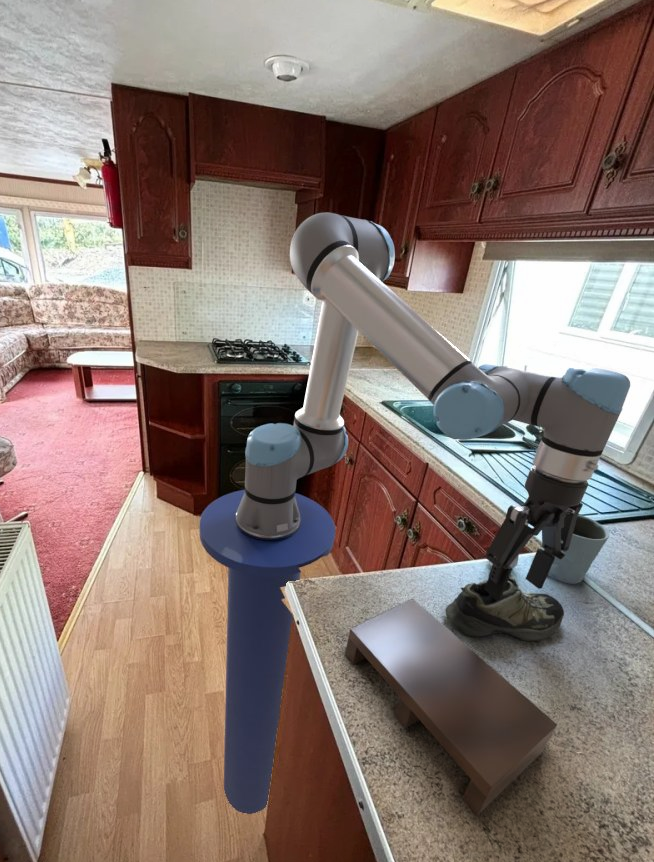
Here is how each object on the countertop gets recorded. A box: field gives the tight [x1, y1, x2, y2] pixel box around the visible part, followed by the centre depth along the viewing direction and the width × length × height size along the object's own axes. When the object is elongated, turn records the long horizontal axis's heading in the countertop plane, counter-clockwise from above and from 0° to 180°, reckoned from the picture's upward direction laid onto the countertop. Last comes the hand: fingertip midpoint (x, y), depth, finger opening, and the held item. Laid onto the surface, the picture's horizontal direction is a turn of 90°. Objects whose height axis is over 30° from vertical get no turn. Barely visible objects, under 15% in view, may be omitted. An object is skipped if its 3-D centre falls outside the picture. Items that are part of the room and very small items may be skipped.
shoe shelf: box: [344, 598, 558, 817], centre depth 58 cm, size 24×14×6 cm, turn 31°
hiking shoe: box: [445, 576, 565, 642], centre depth 71 cm, size 8×21×9 cm, turn 98°
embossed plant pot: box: [541, 514, 610, 585], centre depth 86 cm, size 10×10×12 cm
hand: (513, 588), depth 70 cm, fingers open, 9 cm apart
